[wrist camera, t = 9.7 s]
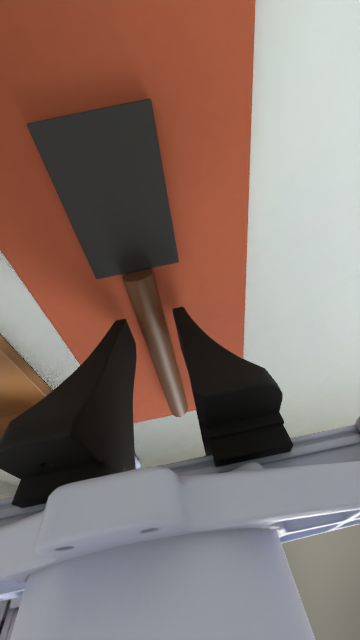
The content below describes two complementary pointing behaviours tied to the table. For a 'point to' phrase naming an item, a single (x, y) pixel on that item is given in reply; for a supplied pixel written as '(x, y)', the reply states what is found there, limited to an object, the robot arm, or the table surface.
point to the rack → (17, 385)
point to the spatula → (119, 211)
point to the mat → (176, 154)
